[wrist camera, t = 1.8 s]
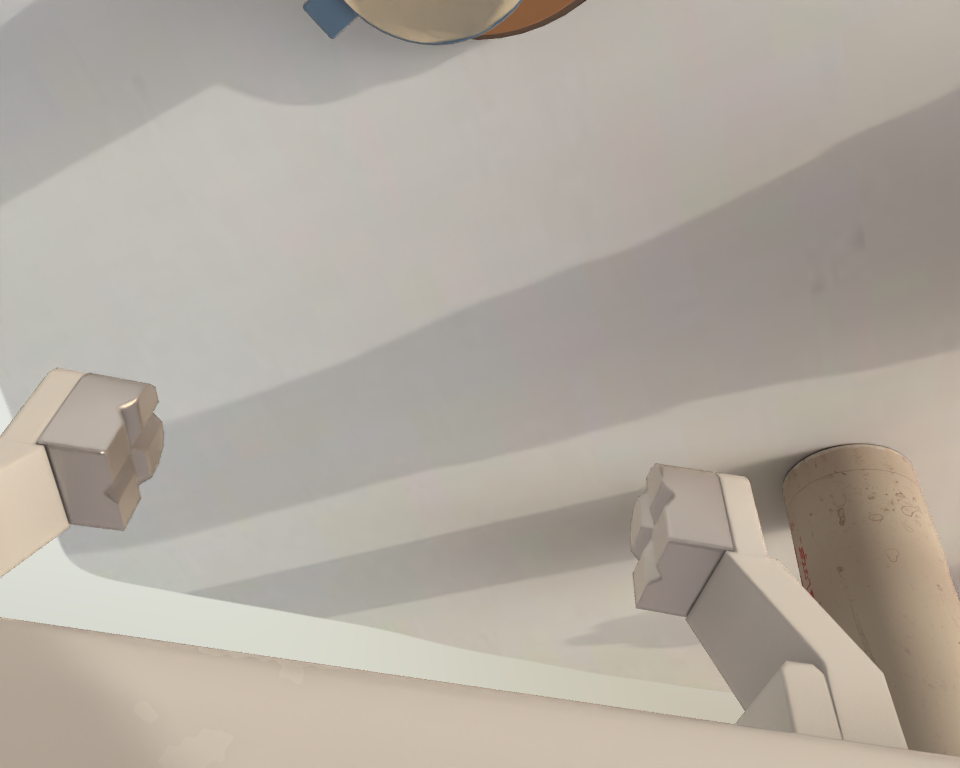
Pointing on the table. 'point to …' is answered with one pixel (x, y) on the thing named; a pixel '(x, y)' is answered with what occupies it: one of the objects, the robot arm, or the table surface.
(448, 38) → the blue mug on coaster
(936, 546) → the thermos bottle
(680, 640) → the table surface
